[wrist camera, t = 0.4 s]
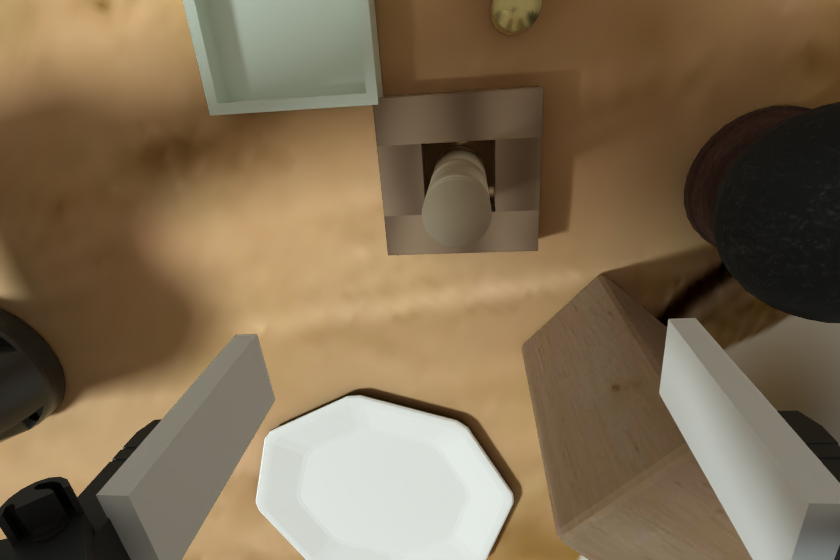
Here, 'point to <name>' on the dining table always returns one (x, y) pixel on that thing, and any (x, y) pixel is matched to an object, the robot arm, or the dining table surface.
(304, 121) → the dining table surface
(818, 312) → the black ball on stand
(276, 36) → the tray
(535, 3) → the cylinder
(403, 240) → the socket block
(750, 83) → the dining table surface
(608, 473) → the wooden block
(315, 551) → the plate
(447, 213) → the dowel
